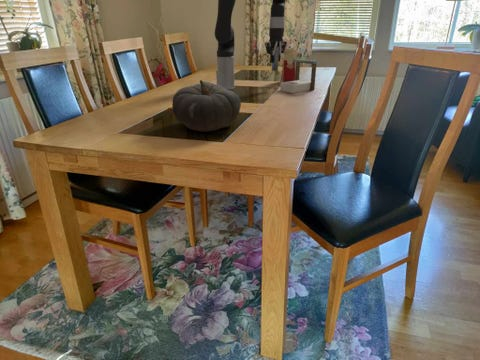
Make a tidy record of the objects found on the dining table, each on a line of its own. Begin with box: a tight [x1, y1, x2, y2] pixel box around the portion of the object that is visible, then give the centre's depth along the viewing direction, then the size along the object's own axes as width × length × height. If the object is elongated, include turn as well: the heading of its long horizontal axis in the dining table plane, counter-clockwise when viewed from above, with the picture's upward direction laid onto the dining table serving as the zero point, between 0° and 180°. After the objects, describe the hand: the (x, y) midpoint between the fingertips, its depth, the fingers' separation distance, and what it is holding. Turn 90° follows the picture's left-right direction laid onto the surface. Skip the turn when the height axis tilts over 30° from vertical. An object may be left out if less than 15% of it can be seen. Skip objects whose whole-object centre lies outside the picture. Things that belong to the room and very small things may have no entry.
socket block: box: [280, 79, 311, 94], centre depth 183 cm, size 13×10×4 cm
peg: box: [271, 47, 279, 72], centre depth 178 cm, size 3×3×12 cm
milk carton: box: [279, 47, 296, 84], centre depth 199 cm, size 9×9×20 cm
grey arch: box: [293, 58, 318, 92], centre depth 183 cm, size 4×14×15 cm, turn 36°
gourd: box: [171, 79, 242, 133], centre depth 124 cm, size 25×25×17 cm
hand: (275, 62), depth 179 cm, fingers closed on peg, 3 cm apart
